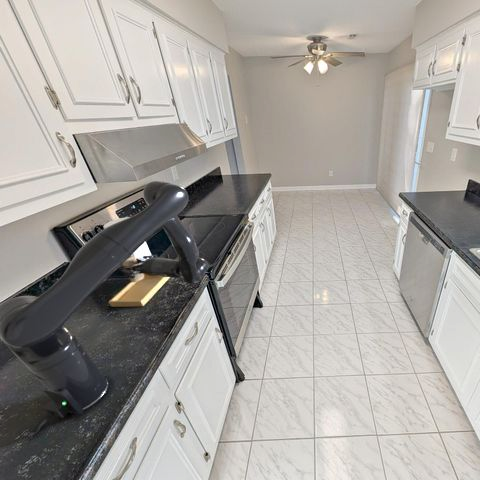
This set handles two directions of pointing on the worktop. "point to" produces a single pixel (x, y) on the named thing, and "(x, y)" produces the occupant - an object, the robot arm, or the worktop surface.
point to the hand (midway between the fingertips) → (125, 264)
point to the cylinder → (142, 250)
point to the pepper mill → (129, 262)
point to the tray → (138, 292)
